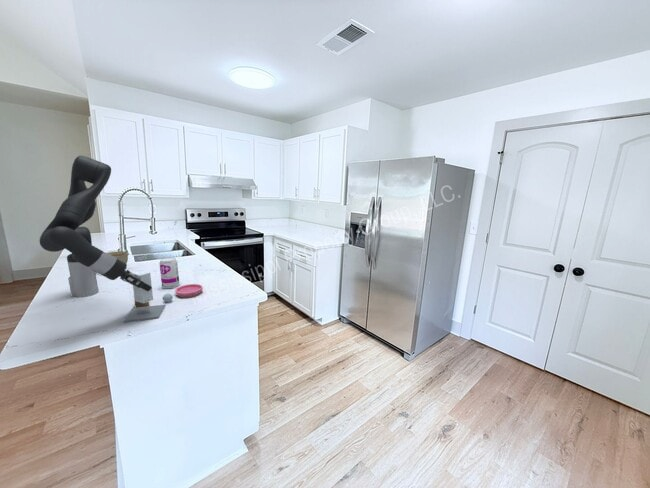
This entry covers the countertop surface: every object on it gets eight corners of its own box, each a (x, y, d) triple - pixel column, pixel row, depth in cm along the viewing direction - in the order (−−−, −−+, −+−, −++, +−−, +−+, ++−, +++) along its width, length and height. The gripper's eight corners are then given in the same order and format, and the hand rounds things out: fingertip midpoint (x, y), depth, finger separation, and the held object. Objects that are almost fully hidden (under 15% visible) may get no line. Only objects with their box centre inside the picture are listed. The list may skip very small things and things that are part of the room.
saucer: (201, 297, 129) (200, 291, 128) (172, 300, 125) (172, 293, 125) (204, 288, 140) (204, 282, 140) (178, 290, 137) (178, 284, 136)
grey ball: (162, 303, 120) (161, 295, 120) (164, 300, 124) (163, 292, 123) (171, 302, 122) (171, 294, 121) (173, 299, 125) (172, 291, 125)
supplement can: (171, 289, 138) (168, 262, 134) (158, 288, 139) (155, 260, 136) (182, 284, 145) (180, 258, 142) (170, 283, 147) (167, 257, 144)
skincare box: (153, 299, 110) (150, 272, 108) (143, 303, 106) (139, 275, 104) (144, 297, 113) (141, 270, 110) (134, 300, 109) (130, 273, 106)
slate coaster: (123, 322, 103) (123, 320, 103) (134, 309, 114) (133, 307, 114) (158, 318, 107) (158, 316, 107) (165, 306, 118) (165, 304, 118)
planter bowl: (124, 265, 177) (122, 250, 174) (134, 270, 167) (131, 254, 165) (94, 271, 164) (91, 254, 162) (102, 276, 155) (99, 259, 152)
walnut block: (135, 308, 115) (134, 298, 114) (135, 304, 119) (134, 294, 118) (149, 306, 118) (147, 295, 117) (148, 302, 122) (147, 292, 121)
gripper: (120, 261, 95) (159, 283, 106) (111, 254, 105) (148, 275, 116) (103, 278, 93) (146, 299, 104) (95, 270, 102) (135, 290, 113)
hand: (147, 287), depth 110 cm, fingers closed on skincare box, 6 cm apart
